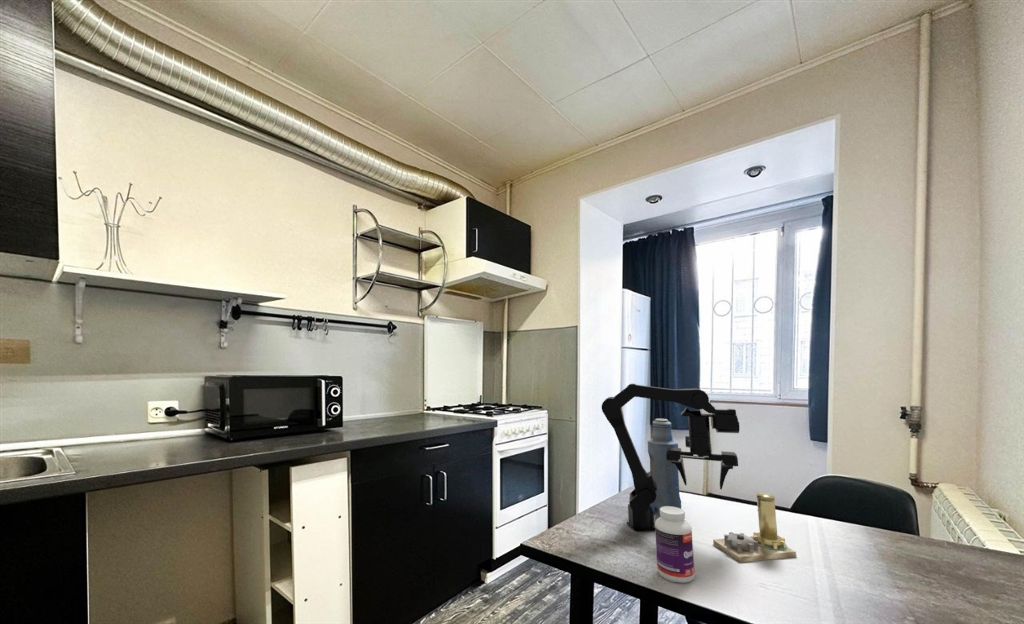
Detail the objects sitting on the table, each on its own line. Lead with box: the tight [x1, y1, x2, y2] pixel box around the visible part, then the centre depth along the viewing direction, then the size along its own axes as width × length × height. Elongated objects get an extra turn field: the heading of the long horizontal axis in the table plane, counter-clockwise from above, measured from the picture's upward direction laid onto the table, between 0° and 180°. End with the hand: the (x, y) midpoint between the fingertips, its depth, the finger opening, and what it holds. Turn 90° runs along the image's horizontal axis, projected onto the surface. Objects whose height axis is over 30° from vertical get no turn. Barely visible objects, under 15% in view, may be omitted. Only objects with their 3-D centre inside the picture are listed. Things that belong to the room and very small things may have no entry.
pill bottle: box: [654, 506, 695, 584], centre depth 94 cm, size 8×8×14 cm
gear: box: [752, 492, 787, 549], centre depth 107 cm, size 7×7×12 cm
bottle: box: [647, 418, 682, 516], centre depth 134 cm, size 10×10×30 cm
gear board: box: [712, 531, 797, 563], centre depth 105 cm, size 17×10×4 cm, turn 99°
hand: (703, 487), depth 116 cm, fingers open, 9 cm apart
